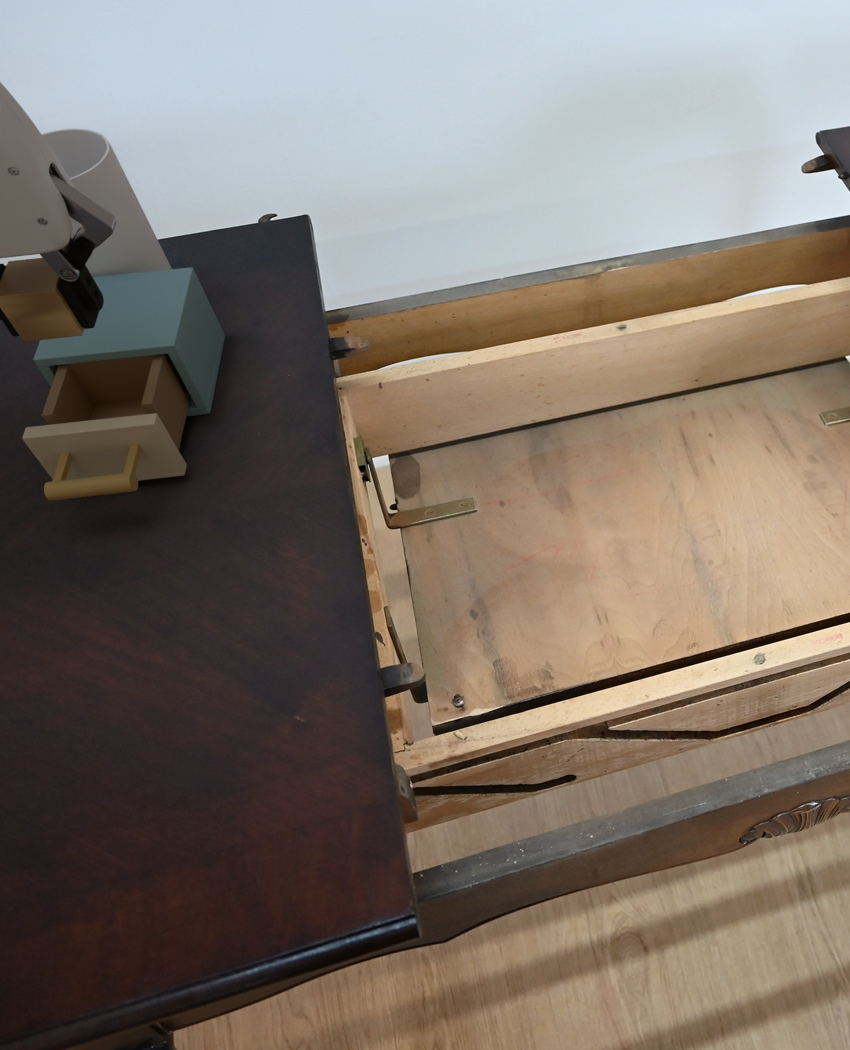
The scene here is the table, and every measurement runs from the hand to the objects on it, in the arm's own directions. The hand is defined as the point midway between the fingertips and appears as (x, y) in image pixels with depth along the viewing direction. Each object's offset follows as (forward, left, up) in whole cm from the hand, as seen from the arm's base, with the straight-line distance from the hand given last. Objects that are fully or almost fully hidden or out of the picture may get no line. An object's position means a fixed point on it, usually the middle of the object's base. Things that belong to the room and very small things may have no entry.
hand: (57, 317), depth 74 cm
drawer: (0, -2, -13) cm, 13 cm away
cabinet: (0, +8, -14) cm, 16 cm away
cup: (-3, +18, -14) cm, 23 cm away
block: (0, 0, 0) cm, 0 cm away
